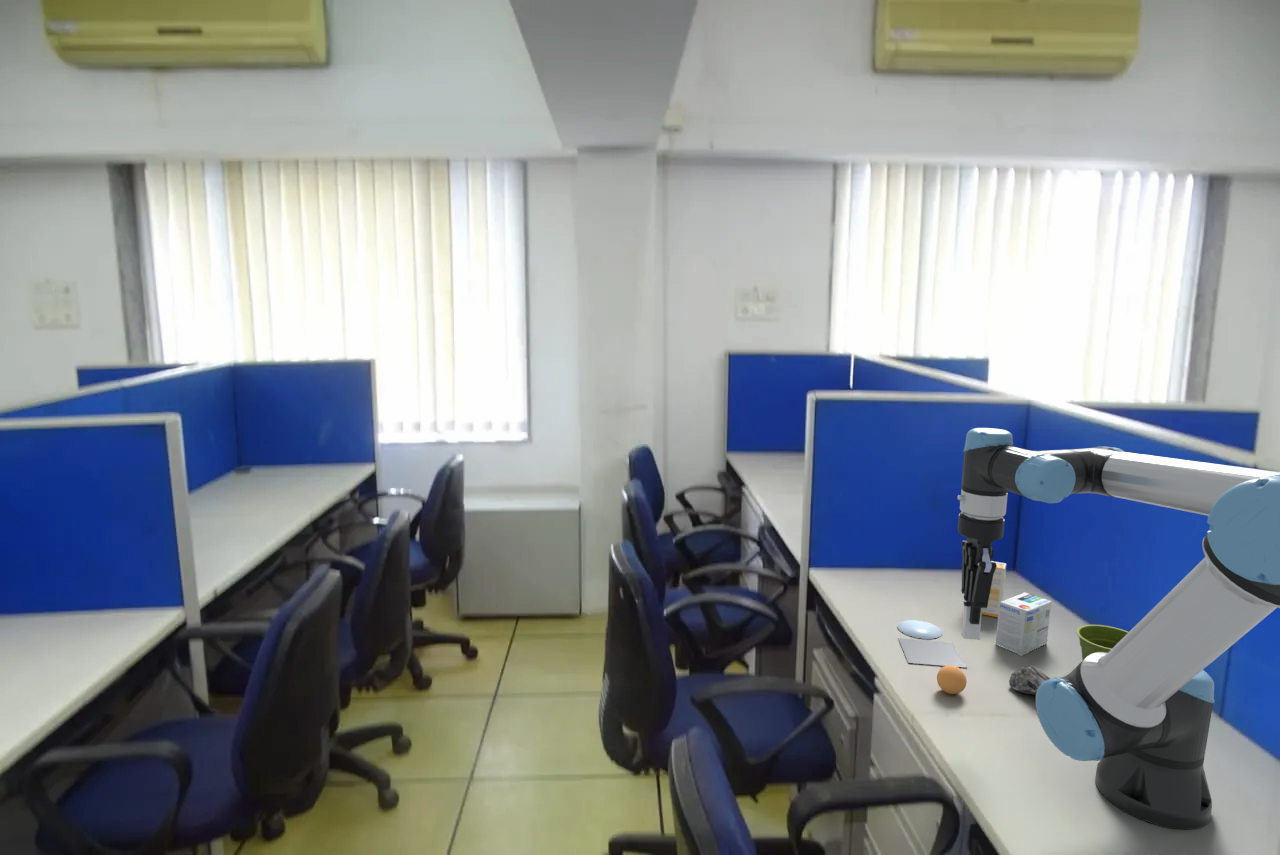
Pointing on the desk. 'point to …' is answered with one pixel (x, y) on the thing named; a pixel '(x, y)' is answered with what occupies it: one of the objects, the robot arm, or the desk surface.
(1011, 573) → the desk surface
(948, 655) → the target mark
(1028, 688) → the fossilized seashell
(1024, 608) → the light bulb box
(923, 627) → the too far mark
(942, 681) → the ball
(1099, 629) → the plant pot
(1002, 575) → the supplement box
